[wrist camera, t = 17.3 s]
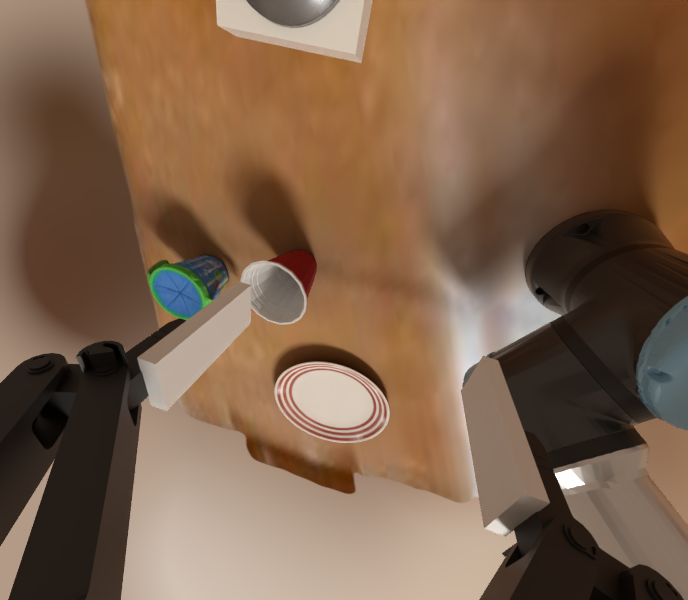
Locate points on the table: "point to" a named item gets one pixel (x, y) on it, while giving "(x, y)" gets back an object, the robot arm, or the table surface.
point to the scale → (303, 28)
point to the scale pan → (293, 11)
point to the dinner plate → (332, 402)
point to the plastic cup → (281, 286)
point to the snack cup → (187, 284)
